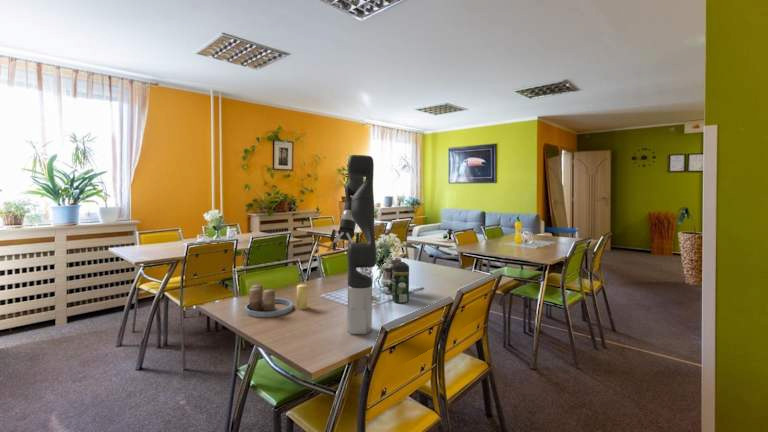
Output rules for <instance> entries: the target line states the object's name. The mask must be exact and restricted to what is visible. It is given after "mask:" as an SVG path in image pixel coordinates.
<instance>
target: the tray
mask: <svg viewBox="0 0 768 432" xmlns="http://www.w3.org/2000/svg"><path fill="white" fill-rule="evenodd" d="M275 304H283V305H286V307H284V308H281V309H278V310H277V309H275V311H268V312H264V299H263V308H262V311H261V312H257V311H252V310H250V308H249V302H248V303H246V304H245V305H244V314H245V315H247V316H249V317H254V318H273V317H278V316H282V315H285V314H287V313H289V312H291V311H292V310H293V308H294V307H293V306H294V304H293V302H292V300H289V299H288V298H287V299H286V298H281V297H279V298H278V297H275Z"/></svg>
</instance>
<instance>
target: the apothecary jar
mask: <svg viewBox="0 0 768 432" xmlns="http://www.w3.org/2000/svg"><path fill="white" fill-rule="evenodd" d="M396 262H403V261H402V259H401V257H397V258H396V259H395V260H390V259H387V261H386V263H384V264H383V265H382V264H381V265H382V267H381V268H382V269H383V275H382V278H381V280H380V283H381V285H382V286H383V287H384V288H386V289H387V290H386V289H385V290H386V291H385V292H384V293H385V294H384V293H383V294H384V295H387V294H392V274H393V264H394V263H396Z"/></svg>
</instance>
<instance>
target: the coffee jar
mask: <svg viewBox="0 0 768 432" xmlns="http://www.w3.org/2000/svg"><path fill="white" fill-rule="evenodd" d="M409 290H410V265H409V264H408V263H406V262H405V261H402V262H396V263H394V264H393V274H392V295H391V297H392V299H391V300H392V301H393V302H394V303H397V304H406V303H408V302H409V301H410V294H409V293H410V291H409Z"/></svg>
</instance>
